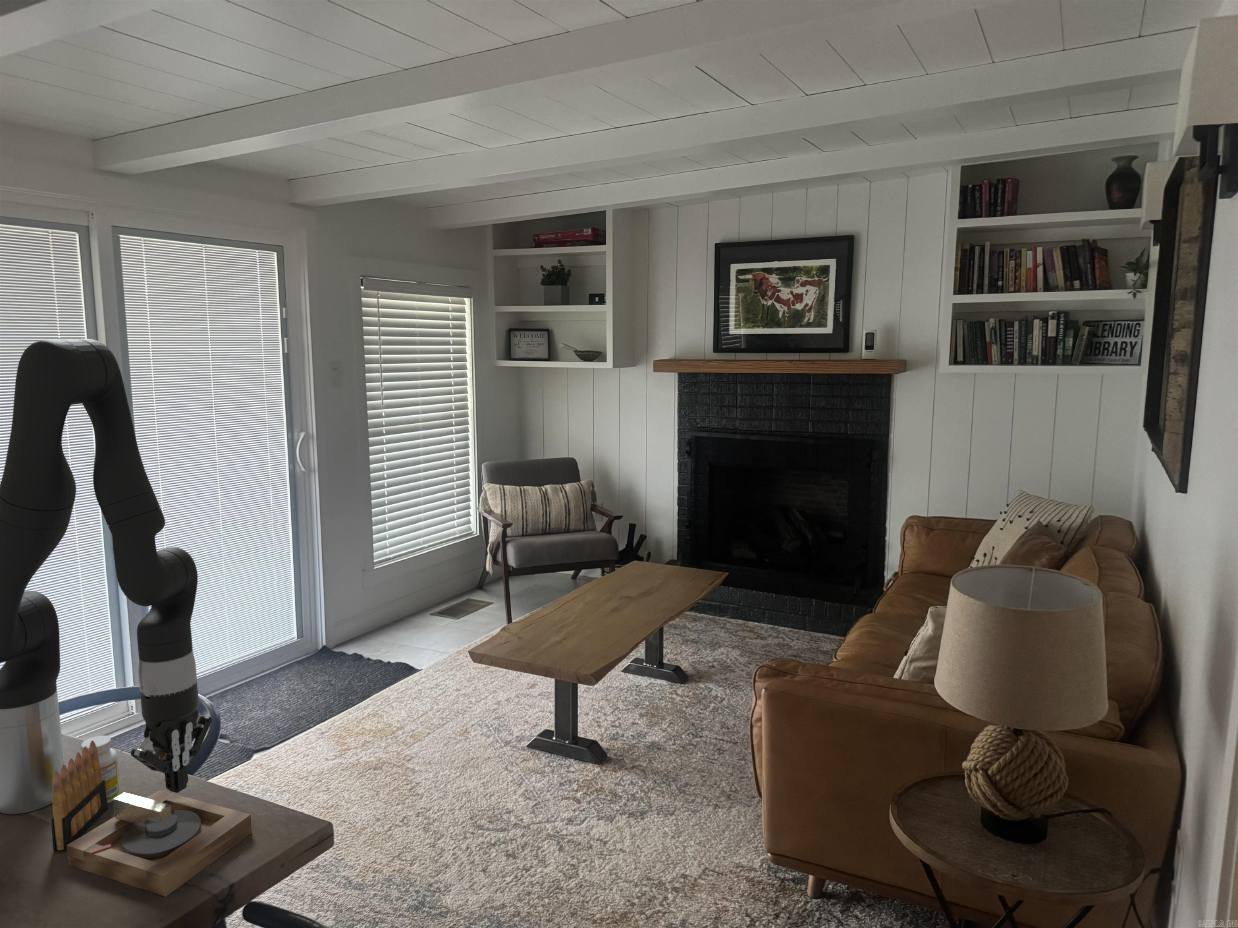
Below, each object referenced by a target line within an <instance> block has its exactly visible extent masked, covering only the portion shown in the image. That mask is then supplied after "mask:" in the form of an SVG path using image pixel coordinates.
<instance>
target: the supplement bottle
mask: <svg viewBox="0 0 1238 928" xmlns="http://www.w3.org/2000/svg"><path fill="white" fill-rule="evenodd" d="M92 740H93V741H94V742H95V744H96V747H97V751H98V757H99V762H100V765H101V772H102V780H105V788H106V796H107V804H110V803H112V802H114V801H113V799H114V798H116V797H117V796H119V795H121V780H120V769H119V760H118V759H119V758H118V752H117V751H116V750H115V748H112V739H111V737H110V736H109V735H98V736H93V737H89V738H88V739H85V740H84V741H83V742H82V743H81V745H80V748H81V749H80V750H81V754H82V753H83V749H84V747H85V746H86V747H87V748H88V750H89V746H90V743H91V741H92Z"/></svg>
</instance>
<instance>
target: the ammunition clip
mask: <svg viewBox="0 0 1238 928" xmlns="http://www.w3.org/2000/svg"><path fill="white" fill-rule="evenodd" d="M52 788H53V798H52V805H51V807H52V817H51V818H50V825H51V836H52V837H51V838H52V849H53V851H52V852H57V853H58V852H67V845H68V844H70V843H71V842H73V841H75V840H76V839H78V838H80V837H81V836H83V835H85V834H87V833H88V832H89V830H90V829H91V828H92V827H93V825H94V824H95V823H96V822H97V821H98V820H99V819H101V817H102V816H103V815H104V814H105V813H106V812H108V810H109V806H108V803H107V796H106V788H105V780H102V772H101V765H100V762H99V757H98V751H97V747H96V744H95V742H94V741H93V740H92V741H91V743H90V746H89V750H88V748H87V747H86V746H85V747H84V749H83V753H82V752H81V753H80V752H79V751H78V752H76V755H75V759H73V758H72V757H71V758H69V761H68V763H67V765H65V764H64V765H63V766H62V768H61V772H60V775H59V773H58V772H57V771H55V773H54V776H53V782H52ZM86 832H87V833H86Z"/></svg>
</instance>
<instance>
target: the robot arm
mask: <svg viewBox="0 0 1238 928" xmlns="http://www.w3.org/2000/svg"><path fill="white" fill-rule="evenodd" d="M17 365H18V366H17V368H16V375H15V384H14V396H13V406H12V407H13V408H12V411H13V412H12V421H11V428H10V434H9V441H8V446H7V447H8V448H7V452H6V457H5V463H4V466H3V467H4V468H3V473H2V477H1V480H0V664H2V663H4V664H3V665H2V666H1V668H0V813H1V814H7V815H17V814H18V815H19V814H24V813H30V812H34V811H37V810H40V809H42V808H45V807H47V806H49V805H51V804H52V798H53V788H52V782H53V776H54V773H55V771H57V772H58V773H59V775H60V772H61V768H62V766H63V765H65V758H64V749H63V739H62V727H61V725H62V724H61V718H60V706H59V698H58V695H59V694H58V686H57V681H58V677H59V675H60V672H61V647H60V646H61V645H60V644H61V643H60V642H61V641H60V638H61V637H60V625H59V623H60V622H59V618H58V615H57V614H58V613H57V611H56V609H55V607H54V604H53V603H52V602H51V600H50V599H49V598H48V597H47V596H46V595H44V594H43V593H41V592H38V591H35V590H27V591H25V590H26V589H27V587H28V584H29V583H30V582H31V580H32V578H33V576H35V574H36V573H37V572H38V570H40V568H41V567H42V565H44V563H45V561H47V559H48V558H49V557H50V556H51V554H53V552H54V551H55V549H56V548H57V547H58V546H59V544H60V542H61V540H63V538H64V537H65V536H66V535H65V534H66V533H67V531H68V527H69V524H70V521H71V517H72V512H73V509H74V504H75V500H76V494H77V484H76V480H75V477H74V474H73V472H72V469H71V467H70V466H71V465H70V463H68V460H67V458H66V455H65V453H64V449H63V444H62V443H63V440H62V439H63V432H64V428H65V422H66V419H67V415H68V413H69V410H70V408H71V406H74V405H75V406H76V405H82V406H83V407H84V410H85V411H86V414H87V415H88V417H89V419H90V422H91V424H92V428H93V432H94V440H95V441H94V444H95V447H94V448H95V451H94V461H93V471H92V473H93V474H92V482H93V483H92V484H93V485H92V486H93V490H94V495H95V498H96V502H97V504H98V506H99V509H100V511H101V513H102V516H103V518H104V521H105V523H106V524H107V527H108V529H109V532H110V533H111V538H112V552H113V559H114V568H115V574H116V579H117V583H118V586H119V588H120V590H121V592H122V593H123V595H124V596H125V597H126V598H127V599H128V600H129V601H130V602H132V603H133V604H135V605H138V606H139V607H150V610H149V611H148V613H147V614H146V615H145V616H143V618H142V619H141V620H140V621H139V622H138V624H137V627H136V638H137V639H136V640H137V642H136V643H137V653H138V672H137V674H138V686H139V695H140V697H139V698H140V709H141V715H142V716H141V717H142V718H143V720H144V722H145V729H144V731H143V738H144V739H143V741H142V742H141V744H140V745H139V747H133V748H132V749H131V752H130V756H131V757H133V758H134V759H135V760H137V761H139V762H140V763H141V764H143V765H144V766H145V767H146V768H148V769H149V770H151V771H154V772H158V773H159V772H160V773H162V774H164V780H165V789H167V790H168V792H171V793H174V794H178V793H180V792H182V791H183V790H185V789H187V786H188V783H189V771H188V769H189V768H188V764H189V763H190V760H191V758H192V757H196V756H198V754H199V751H200V749H201V748H202V745H203V742H204V740H205V737H206V735H207V733H208V731H209V728H210V726H211V724H212V722H213V719H212V717H210V716H206V715H202V714H200V713H199V705H200V704H199V703H200V700H199V689H198V688H199V687H198V674H197V664H196V659H195V655H194V650H193V648H194V647H193V639H192V638H193V637H192V636H193V635H192V627H191V623H192V622H191V621H192V617H193V613H194V608H195V602H196V596H197V590H198V585H199V584H198V581H199V580H198V579H199V575H198V569H197V565H196V563H195V560H194V559H193V557H192V556H191V555H190V554H189V552H187V551H186V550H185V549H183V548H181V547H176V546H175V547H173V546H169V547H165V548H162V549H159V550H157V546H156V545H157V544H156V536H157V535H158V534H159V533H160V532H161V531H162V530H163V529H164V528H165V526H166V519H165V515H164V512H163V510H162V508H161V506H160V504H159V503H160V502H159V501H158V499H157V496H156V493H155V491H154V488H153V486H152V484H151V482H150V480H149V477H148V474H147V471H146V470H145V466H144V463H143V460H142V457H141V452H140V450H139V444H138V441H137V438H136V437H137V436H136V432H135V428H134V424H133V423H134V422H133V419H132V414H131V410H130V406H129V402H128V398H127V393H126V389H125V383H124V379H123V376H122V371H121V368H120V365H119V363H118V361H117V359H116V357H115V355H114V353H113V352H112V350H111V349H110V348H109V347H108V346H107V345H105V344H104V343H102V342H101V341H98V340H96V339H92V338H58V339H57V338H56V339H41V340H38V341H35V342H33V343H31V344H29V345H28V346H27V348H25V349H24V351H23V353H22V354H21V356H20V358H19V361H18V364H17ZM193 741H194V742H193ZM154 748H155V749H154Z"/></svg>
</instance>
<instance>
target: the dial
mask: <svg viewBox="0 0 1238 928" xmlns="http://www.w3.org/2000/svg"><path fill="white" fill-rule="evenodd" d="M112 802H113V812H114V817H115V818H118V819H121V820H124V821H128V822H131V823H135V824H133V825H132V826H130V827H129V828H128V829H127V830H126V831H125V832H124V834H123V836H122V838H121V844H122V851H123V852H124V853H127V854H130V855H133V856H137V857H140V858H143V859H146V860H149V859H156V858H161V857H165V856H168V855H169V854H171V853H172V852H174V851H175V850H176V849H178V848H179V847H181V846H182V845H184V844H185V843H187V842H188V841H189V840H191V839H192V838H194V837H195V836H197V835H198V834H200V832H201V819H200V817H199V816H198V815H197V814H196V813H194V812H191V811H187V810H171V805H168V804H165V803H161V802H158V801H154V800H150V799H147V797H142V796H139V795H135V794H131V793H127V792H122V793H120V795H119V796H117V797H116V798H114V799H113V801H112Z"/></svg>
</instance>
